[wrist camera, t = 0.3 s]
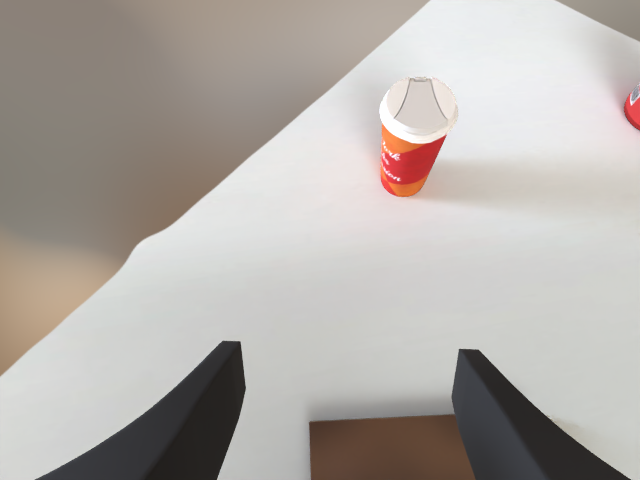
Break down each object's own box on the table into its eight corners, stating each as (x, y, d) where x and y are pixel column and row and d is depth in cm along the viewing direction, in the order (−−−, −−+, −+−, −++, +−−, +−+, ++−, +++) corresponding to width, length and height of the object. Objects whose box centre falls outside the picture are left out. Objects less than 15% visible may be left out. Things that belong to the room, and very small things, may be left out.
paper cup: (373, 152, 53) (382, 70, 40) (432, 155, 52) (459, 72, 39) (371, 204, 50) (379, 133, 37) (433, 207, 49) (463, 136, 36)
